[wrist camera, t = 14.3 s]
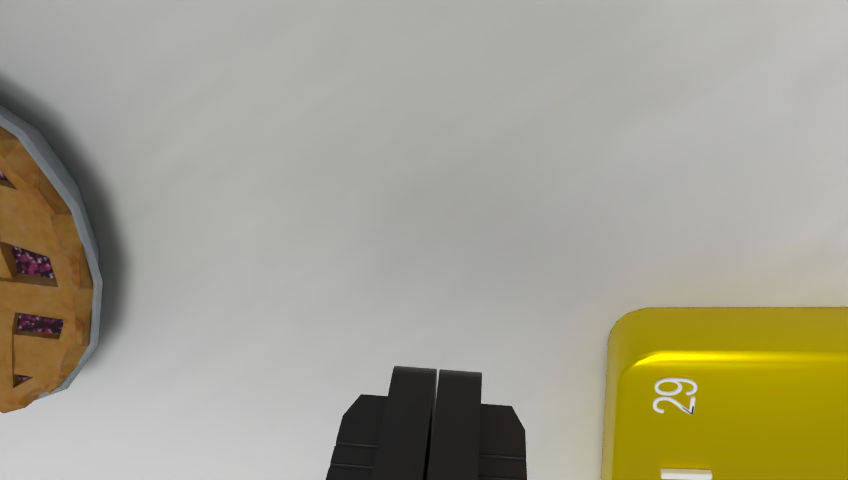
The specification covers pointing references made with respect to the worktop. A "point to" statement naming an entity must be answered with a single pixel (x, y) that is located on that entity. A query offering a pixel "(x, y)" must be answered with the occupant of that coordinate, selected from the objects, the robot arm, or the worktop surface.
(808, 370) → the element tile
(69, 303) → the pie
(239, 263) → the worktop surface
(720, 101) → the worktop surface
